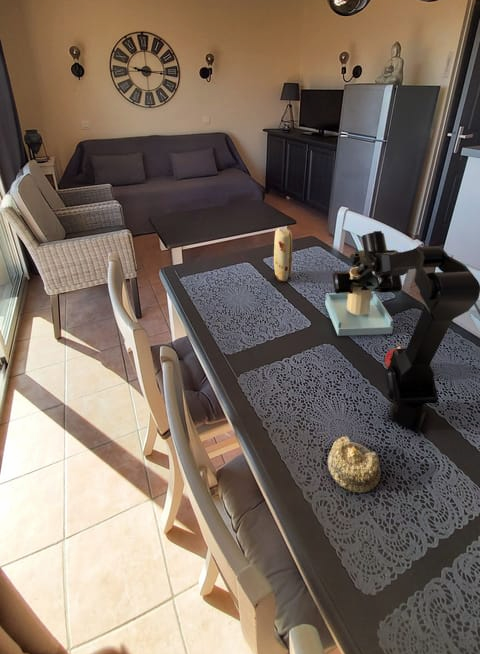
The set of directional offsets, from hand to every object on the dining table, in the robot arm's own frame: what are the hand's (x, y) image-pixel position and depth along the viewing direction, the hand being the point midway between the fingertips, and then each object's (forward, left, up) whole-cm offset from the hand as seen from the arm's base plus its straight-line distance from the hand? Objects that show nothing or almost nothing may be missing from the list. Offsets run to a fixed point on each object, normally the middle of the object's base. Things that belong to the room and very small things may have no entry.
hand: (358, 288), depth 111 cm
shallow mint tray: (-1, -1, -10) cm, 10 cm away
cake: (-47, -18, -10) cm, 52 cm away
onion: (-17, -17, -10) cm, 27 cm away
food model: (+7, +32, -10) cm, 34 cm away
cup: (-1, -1, -7) cm, 7 cm away
